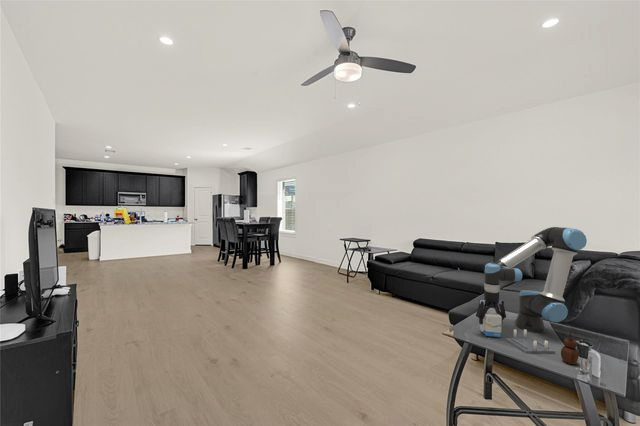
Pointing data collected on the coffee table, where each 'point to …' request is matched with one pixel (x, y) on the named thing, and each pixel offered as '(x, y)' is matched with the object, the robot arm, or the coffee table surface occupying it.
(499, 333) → the ink box
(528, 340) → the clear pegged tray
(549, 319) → the robot arm
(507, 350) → the coffee table surface
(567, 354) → the wooden figurine
